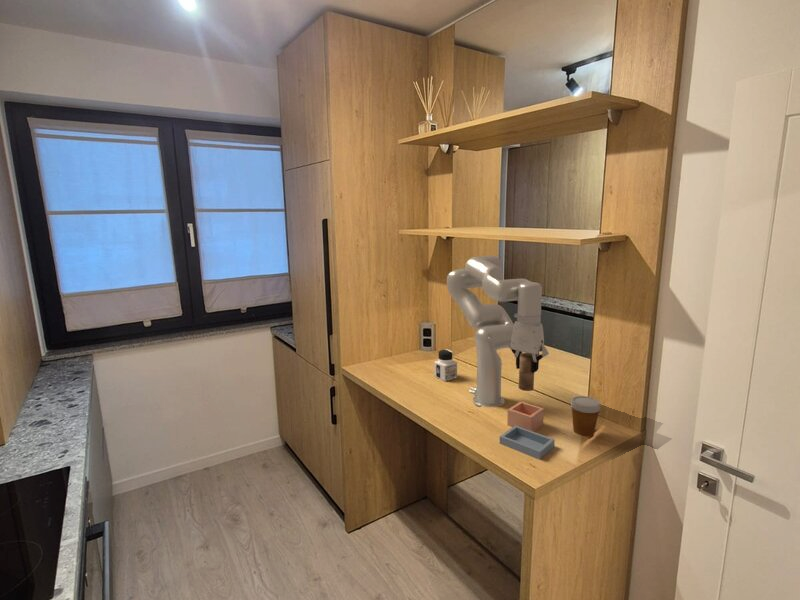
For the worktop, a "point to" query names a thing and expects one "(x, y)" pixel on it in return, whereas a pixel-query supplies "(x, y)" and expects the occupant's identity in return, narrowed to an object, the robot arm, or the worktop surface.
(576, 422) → the disposable coffee cup
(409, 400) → the worktop surface
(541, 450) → the tray
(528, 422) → the terracotta open box
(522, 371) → the peg
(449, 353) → the container
